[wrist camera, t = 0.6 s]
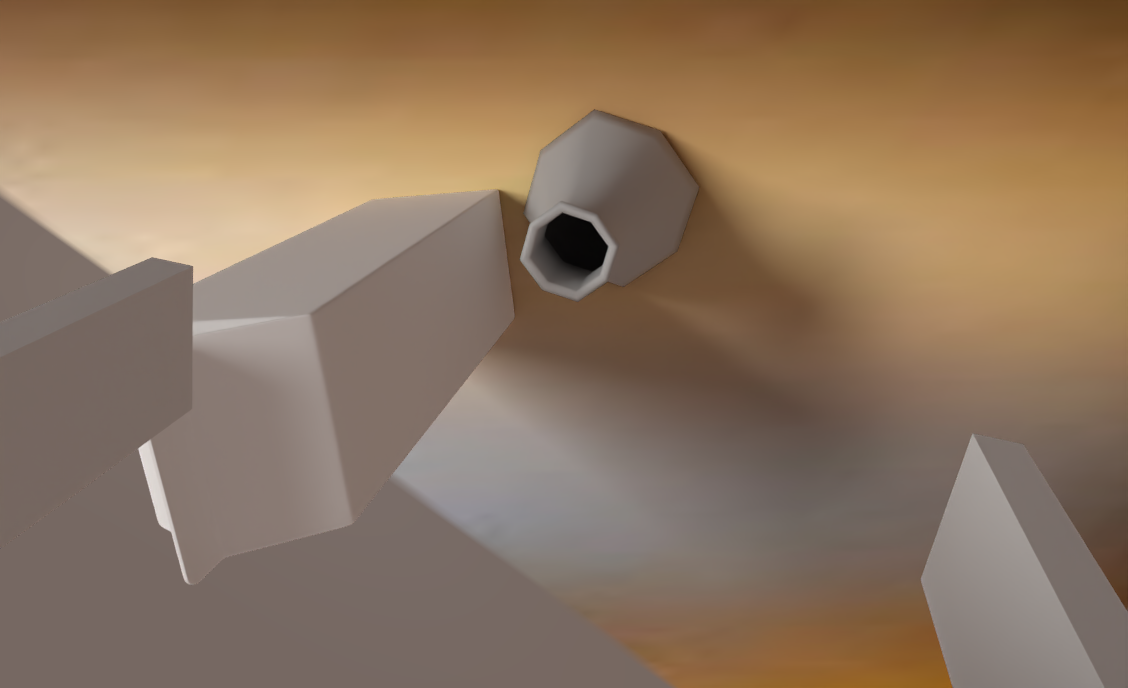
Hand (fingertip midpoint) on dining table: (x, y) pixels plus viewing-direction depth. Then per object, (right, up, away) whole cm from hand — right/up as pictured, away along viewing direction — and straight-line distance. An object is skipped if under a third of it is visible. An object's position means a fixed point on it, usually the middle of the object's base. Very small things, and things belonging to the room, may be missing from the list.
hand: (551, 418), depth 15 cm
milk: (-5, +5, +27) cm, 28 cm away
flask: (+2, +7, +25) cm, 26 cm away
